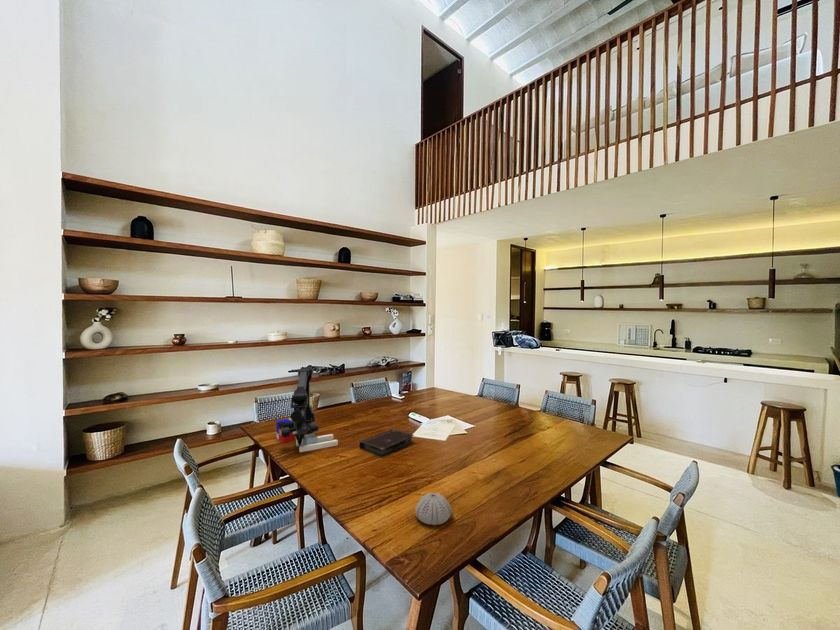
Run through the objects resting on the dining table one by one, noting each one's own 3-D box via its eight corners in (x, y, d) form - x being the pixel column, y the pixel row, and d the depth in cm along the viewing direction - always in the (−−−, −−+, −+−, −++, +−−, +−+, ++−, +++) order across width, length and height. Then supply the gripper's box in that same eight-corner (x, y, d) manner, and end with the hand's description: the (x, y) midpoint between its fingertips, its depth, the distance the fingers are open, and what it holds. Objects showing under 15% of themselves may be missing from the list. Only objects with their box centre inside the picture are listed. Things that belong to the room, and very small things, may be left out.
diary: (358, 449, 185) (358, 440, 185) (391, 436, 204) (391, 428, 204) (382, 458, 173) (382, 449, 173) (415, 443, 192) (415, 435, 192)
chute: (296, 444, 189) (296, 440, 189) (332, 438, 199) (332, 433, 199) (299, 452, 179) (299, 447, 179) (337, 445, 189) (337, 440, 189)
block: (302, 445, 188) (302, 435, 188) (313, 443, 191) (313, 433, 191) (306, 449, 183) (306, 439, 183) (317, 446, 186) (317, 436, 186)
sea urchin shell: (429, 533, 115) (429, 510, 115) (407, 514, 126) (407, 492, 126) (459, 519, 123) (459, 497, 123) (435, 502, 134) (435, 482, 134)
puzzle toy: (276, 438, 198) (276, 421, 198) (293, 434, 205) (293, 417, 205) (283, 443, 191) (283, 425, 191) (300, 438, 198) (300, 421, 198)
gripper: (283, 423, 173) (282, 454, 173) (320, 418, 182) (320, 447, 182) (280, 417, 183) (280, 446, 183) (316, 412, 191) (316, 440, 192)
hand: (299, 445), depth 184 cm, fingers closed
